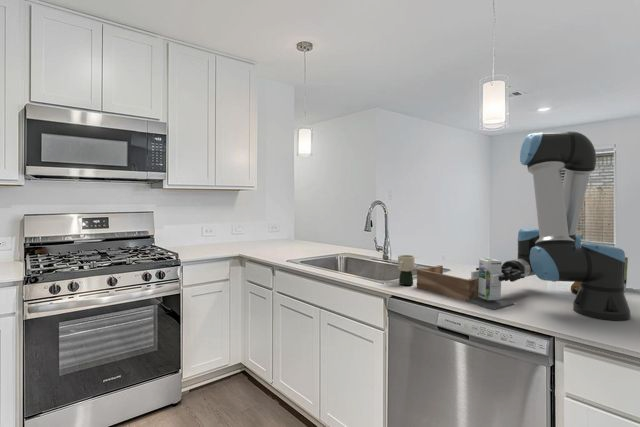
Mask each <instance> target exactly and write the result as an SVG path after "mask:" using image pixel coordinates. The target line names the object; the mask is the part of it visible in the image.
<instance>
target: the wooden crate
mask: <svg viewBox="0 0 640 427" xmlns="http://www.w3.org/2000/svg"><path fill="white" fill-rule="evenodd" d="M443 269H444V267H443V265H434V266H429V267H424V268H418V269H416V288H417V289H420V290H424V291H428V292H430V293H431V292H432V293H435V294H439V295H443V296H447V297H450V298H453V299H458V300H461V301H465V299H466V300H471V299H475V298H478V287H479V278H476V279H471V278H462V277H457V276H453V275H448V274H444V273H443ZM465 302H466V301H465Z"/></svg>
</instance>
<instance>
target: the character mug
mask: <svg viewBox="0 0 640 427" xmlns="http://www.w3.org/2000/svg"><path fill="white" fill-rule="evenodd" d="M397 262H398V267H397V269H398V270H399V271H400V273H399V280H398V284H399V285H403V286H410V285H411V286H413V285H414V278H413V272H414V270H415V256H414V255H411V254H400V255H398V256H397Z"/></svg>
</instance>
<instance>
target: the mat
mask: <svg viewBox="0 0 640 427" xmlns="http://www.w3.org/2000/svg"><path fill="white" fill-rule="evenodd" d="M466 302H467V303H470V304H473V305H476V306H480V307H483V308H486V309H489V310H493V311H496V310H499V309H503V308H507V307H510V306H515V302H512V301H509V300H505V299H502V298H501V299H500V300H486V299H483V298H481V297H478V298H475V299H471V300H466V299H465V303H466Z"/></svg>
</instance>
